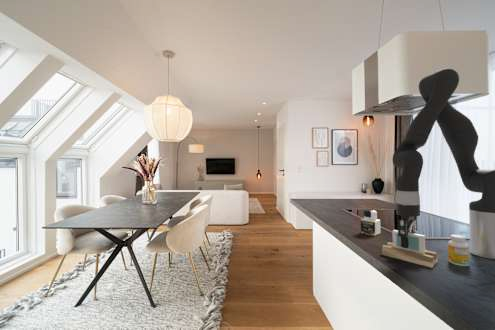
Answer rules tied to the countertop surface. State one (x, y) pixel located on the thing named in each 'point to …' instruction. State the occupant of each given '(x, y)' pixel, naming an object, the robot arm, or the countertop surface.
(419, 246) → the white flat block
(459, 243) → the supplement bottle
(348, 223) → the countertop surface
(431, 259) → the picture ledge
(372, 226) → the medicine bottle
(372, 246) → the countertop surface
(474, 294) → the countertop surface
